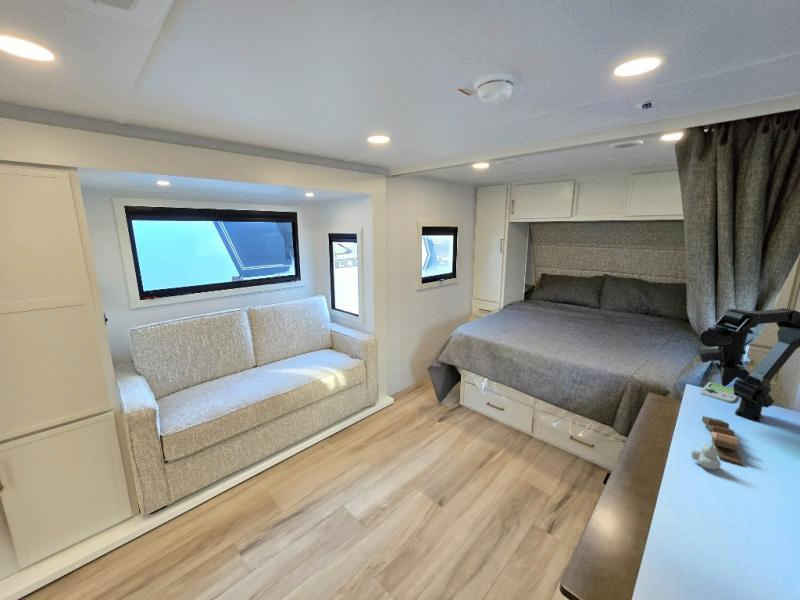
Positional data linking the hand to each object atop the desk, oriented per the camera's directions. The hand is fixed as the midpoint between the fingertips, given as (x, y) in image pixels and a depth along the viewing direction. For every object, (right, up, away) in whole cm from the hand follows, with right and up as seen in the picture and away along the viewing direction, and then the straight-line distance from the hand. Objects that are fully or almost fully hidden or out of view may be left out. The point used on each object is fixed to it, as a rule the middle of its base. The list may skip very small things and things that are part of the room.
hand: (723, 385), depth 118 cm
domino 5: (-13, -17, -13) cm, 25 cm away
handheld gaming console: (+18, -9, +20) cm, 29 cm away
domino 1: (-4, -13, 0) cm, 13 cm away
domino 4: (-12, -15, -12) cm, 23 cm away
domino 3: (-9, -15, -8) cm, 19 cm away
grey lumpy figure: (-27, -19, -21) cm, 38 cm away
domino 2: (-7, -14, -4) cm, 16 cm away
